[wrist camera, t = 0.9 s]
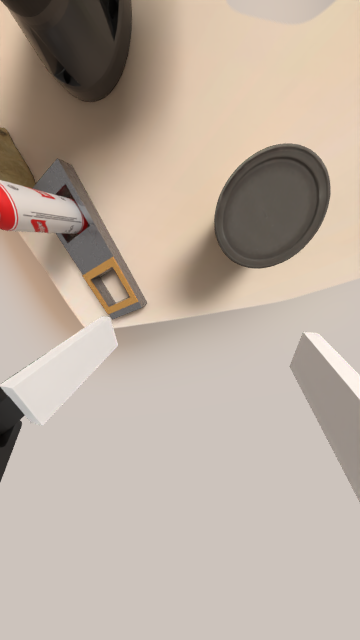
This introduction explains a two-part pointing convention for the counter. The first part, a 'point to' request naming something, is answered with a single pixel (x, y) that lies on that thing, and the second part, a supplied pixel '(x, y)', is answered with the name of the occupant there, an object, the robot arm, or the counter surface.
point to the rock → (13, 163)
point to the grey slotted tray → (92, 242)
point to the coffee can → (272, 205)
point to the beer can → (38, 211)
